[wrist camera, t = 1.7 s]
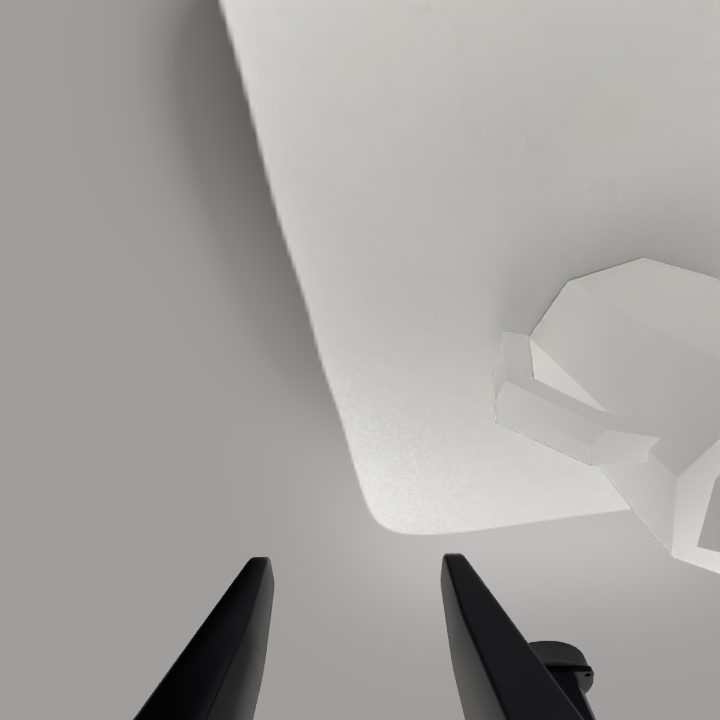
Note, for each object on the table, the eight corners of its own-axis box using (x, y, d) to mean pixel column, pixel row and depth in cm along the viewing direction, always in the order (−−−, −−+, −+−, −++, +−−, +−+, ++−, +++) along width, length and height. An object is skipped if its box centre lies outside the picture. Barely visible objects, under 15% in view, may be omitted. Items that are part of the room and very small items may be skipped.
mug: (727, 260, 17) (1108, 349, 9) (655, 415, 21) (867, 586, 12) (469, 250, 17) (589, 332, 8) (443, 409, 21) (506, 580, 12)
